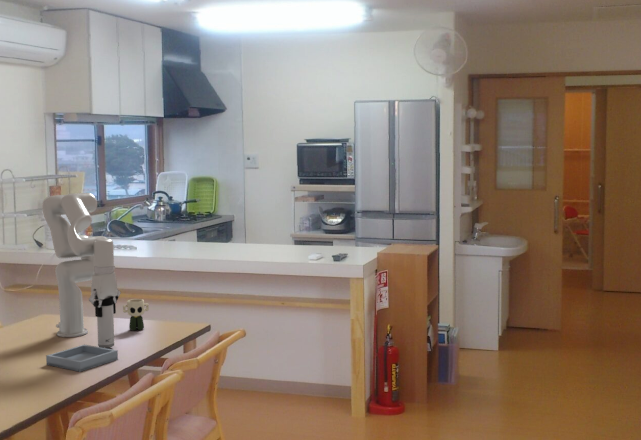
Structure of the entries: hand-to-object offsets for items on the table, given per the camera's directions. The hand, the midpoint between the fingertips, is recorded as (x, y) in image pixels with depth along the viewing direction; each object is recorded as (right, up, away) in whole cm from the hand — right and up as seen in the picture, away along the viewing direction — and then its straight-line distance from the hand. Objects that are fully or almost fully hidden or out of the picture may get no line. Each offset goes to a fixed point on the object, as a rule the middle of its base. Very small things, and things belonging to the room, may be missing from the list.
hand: (105, 314), depth 305 cm
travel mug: (0, -13, +2) cm, 13 cm away
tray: (-4, -16, -17) cm, 24 cm away
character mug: (+5, -11, +32) cm, 34 cm away
